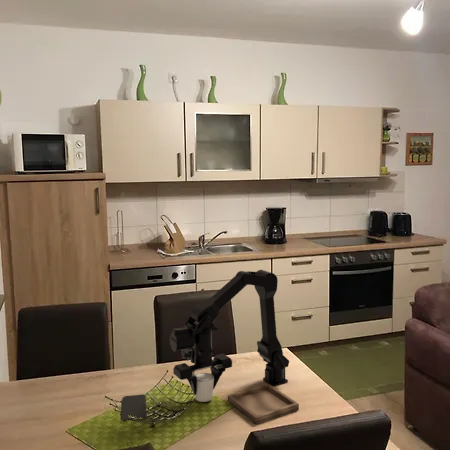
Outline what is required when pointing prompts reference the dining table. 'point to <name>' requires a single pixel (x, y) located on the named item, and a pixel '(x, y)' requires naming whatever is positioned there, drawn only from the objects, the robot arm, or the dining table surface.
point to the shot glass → (204, 387)
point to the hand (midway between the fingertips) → (203, 391)
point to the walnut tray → (262, 403)
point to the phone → (133, 407)
